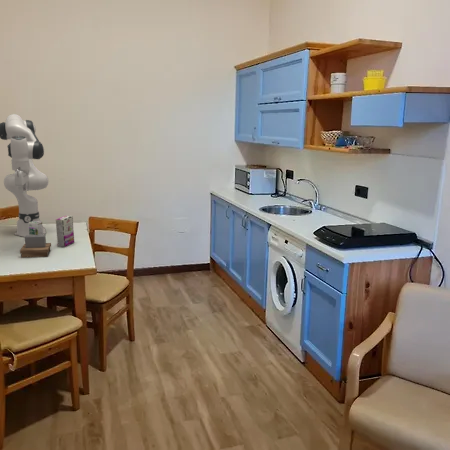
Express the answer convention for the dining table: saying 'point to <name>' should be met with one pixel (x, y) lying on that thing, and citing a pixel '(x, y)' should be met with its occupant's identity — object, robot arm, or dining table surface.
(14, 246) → the dining table surface
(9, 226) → the dining table surface
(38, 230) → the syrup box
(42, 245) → the block
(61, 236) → the candy bar box
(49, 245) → the wooden stand
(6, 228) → the dining table surface
